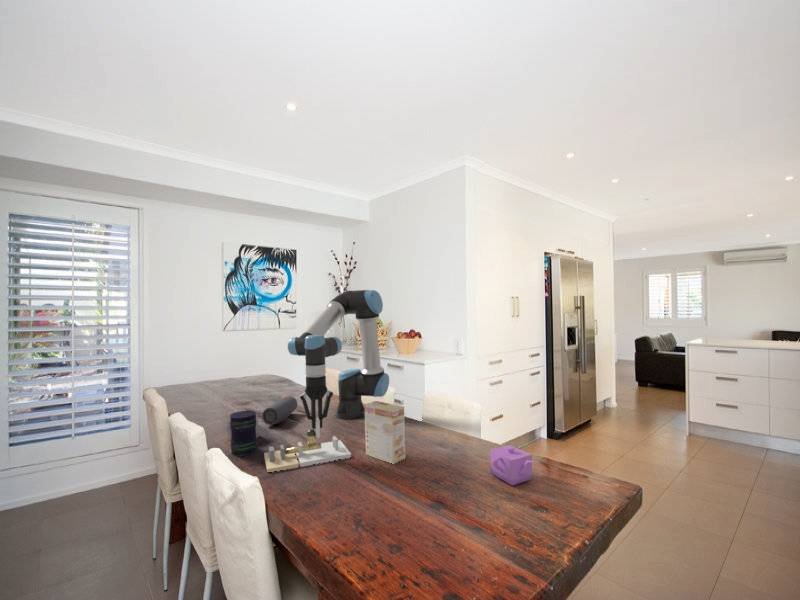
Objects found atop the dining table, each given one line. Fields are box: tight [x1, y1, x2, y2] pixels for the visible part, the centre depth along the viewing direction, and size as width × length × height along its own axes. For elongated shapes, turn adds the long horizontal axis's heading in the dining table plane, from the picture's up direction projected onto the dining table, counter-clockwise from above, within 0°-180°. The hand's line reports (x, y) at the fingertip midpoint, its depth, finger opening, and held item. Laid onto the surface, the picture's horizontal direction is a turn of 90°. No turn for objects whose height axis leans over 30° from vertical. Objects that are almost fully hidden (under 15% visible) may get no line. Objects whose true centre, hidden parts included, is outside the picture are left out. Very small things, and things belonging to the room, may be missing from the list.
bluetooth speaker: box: [261, 395, 298, 426], centre depth 198 cm, size 23×9×10 cm, turn 172°
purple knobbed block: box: [489, 444, 534, 486], centre depth 127 cm, size 18×14×10 cm
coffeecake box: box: [363, 400, 406, 465], centre depth 148 cm, size 15×7×20 cm, turn 47°
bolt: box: [279, 428, 322, 455], centre depth 149 cm, size 15×3×8 cm, turn 113°
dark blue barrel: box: [229, 410, 258, 457], centre depth 158 cm, size 10×10×15 cm
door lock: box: [263, 435, 352, 473], centre depth 150 cm, size 30×16×6 cm, turn 113°
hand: (317, 436), depth 151 cm, fingers closed
